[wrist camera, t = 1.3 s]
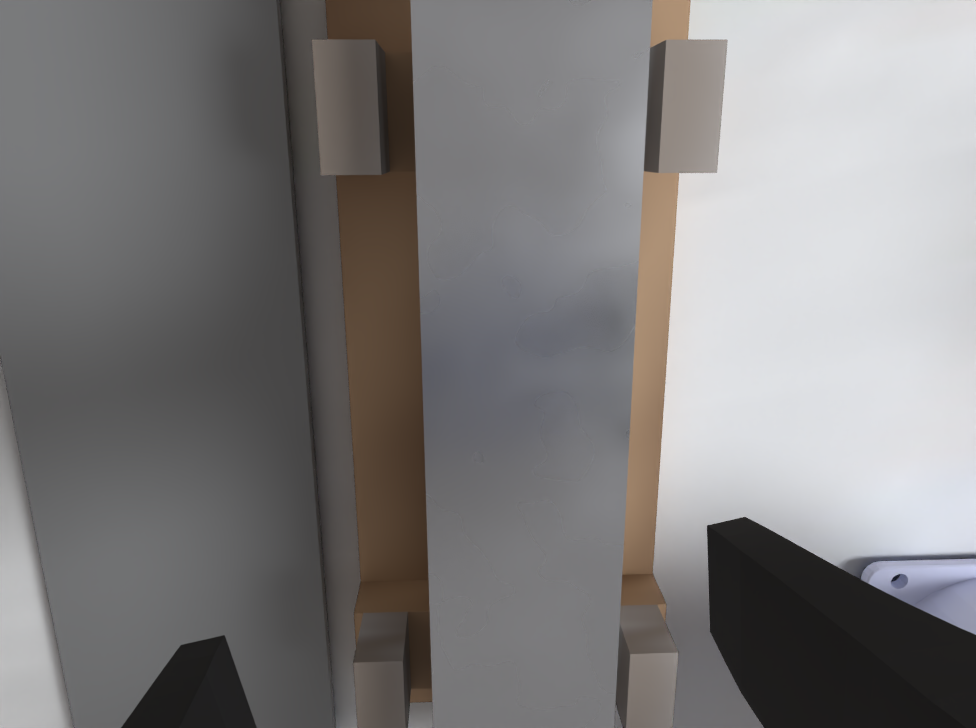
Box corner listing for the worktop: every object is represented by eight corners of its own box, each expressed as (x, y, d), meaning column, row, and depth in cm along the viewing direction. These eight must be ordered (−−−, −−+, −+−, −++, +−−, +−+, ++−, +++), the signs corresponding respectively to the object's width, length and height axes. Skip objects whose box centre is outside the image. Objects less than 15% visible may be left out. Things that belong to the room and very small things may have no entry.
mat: (271, -108, 17) (267, -114, 17) (336, 734, 24) (334, 743, 24) (-82, -111, 17) (-94, -117, 17) (85, 742, 24) (78, 752, 23)
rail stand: (679, -12, 18) (748, -62, 14) (636, 672, 24) (677, 789, 19) (331, -13, 18) (290, -65, 14) (371, 681, 23) (352, 801, 19)
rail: (610, -90, 15) (661, -169, 12) (578, 761, 22) (605, 895, 18) (418, -92, 15) (405, -172, 11) (441, 767, 21) (438, 902, 18)
